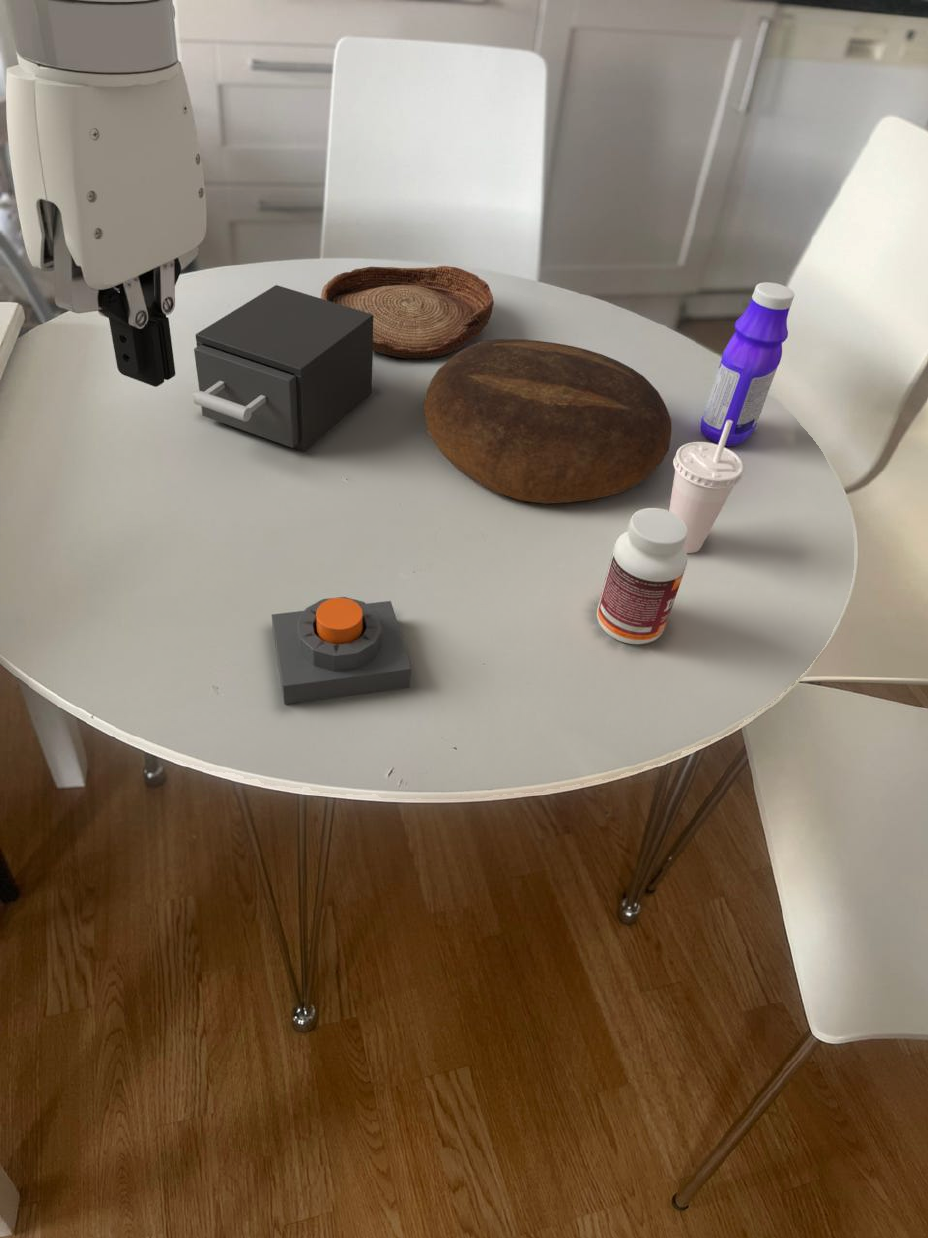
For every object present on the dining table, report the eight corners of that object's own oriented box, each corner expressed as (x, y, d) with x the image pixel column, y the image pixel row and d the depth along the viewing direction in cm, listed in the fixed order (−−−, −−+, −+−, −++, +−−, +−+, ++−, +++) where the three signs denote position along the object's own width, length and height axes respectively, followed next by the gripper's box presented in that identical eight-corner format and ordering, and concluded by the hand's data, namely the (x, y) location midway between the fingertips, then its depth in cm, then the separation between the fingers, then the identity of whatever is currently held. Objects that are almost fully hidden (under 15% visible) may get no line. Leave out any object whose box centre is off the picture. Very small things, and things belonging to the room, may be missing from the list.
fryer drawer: (269, 467, 90) (264, 399, 84) (177, 433, 92) (166, 365, 87) (357, 392, 102) (358, 328, 96) (273, 364, 104) (269, 300, 99)
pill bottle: (668, 650, 77) (703, 553, 69) (597, 643, 77) (625, 545, 69) (659, 602, 82) (691, 505, 74) (593, 595, 81) (618, 498, 74)
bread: (653, 537, 88) (676, 464, 82) (391, 480, 91) (394, 406, 85) (671, 399, 109) (690, 332, 103) (457, 356, 112) (463, 288, 106)
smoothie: (697, 571, 85) (741, 447, 76) (639, 542, 88) (675, 418, 78) (725, 540, 89) (771, 419, 79) (669, 513, 92) (707, 392, 82)
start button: (320, 647, 69) (319, 631, 67) (313, 616, 71) (313, 600, 70) (366, 642, 70) (366, 626, 68) (358, 610, 72) (358, 595, 71)
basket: (347, 372, 106) (347, 333, 103) (300, 299, 119) (298, 263, 116) (514, 351, 114) (519, 314, 111) (453, 285, 127) (456, 250, 123)
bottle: (718, 413, 107) (765, 271, 95) (760, 432, 105) (814, 289, 93) (689, 435, 103) (734, 289, 91) (732, 455, 101) (784, 308, 89)
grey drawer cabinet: (304, 451, 94) (300, 369, 87) (205, 416, 97) (195, 334, 90) (372, 392, 104) (373, 314, 97) (280, 362, 107) (276, 284, 100)
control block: (284, 705, 69) (281, 670, 66) (273, 633, 74) (270, 598, 72) (409, 687, 71) (412, 653, 69) (390, 619, 77) (391, 584, 74)
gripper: (138, 1, 49) (176, 317, 62) (-94, 37, 39) (8, 407, 51) (251, 29, 47) (266, 348, 60) (38, 73, 37) (110, 448, 50)
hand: (147, 374), depth 56 cm, fingers closed
